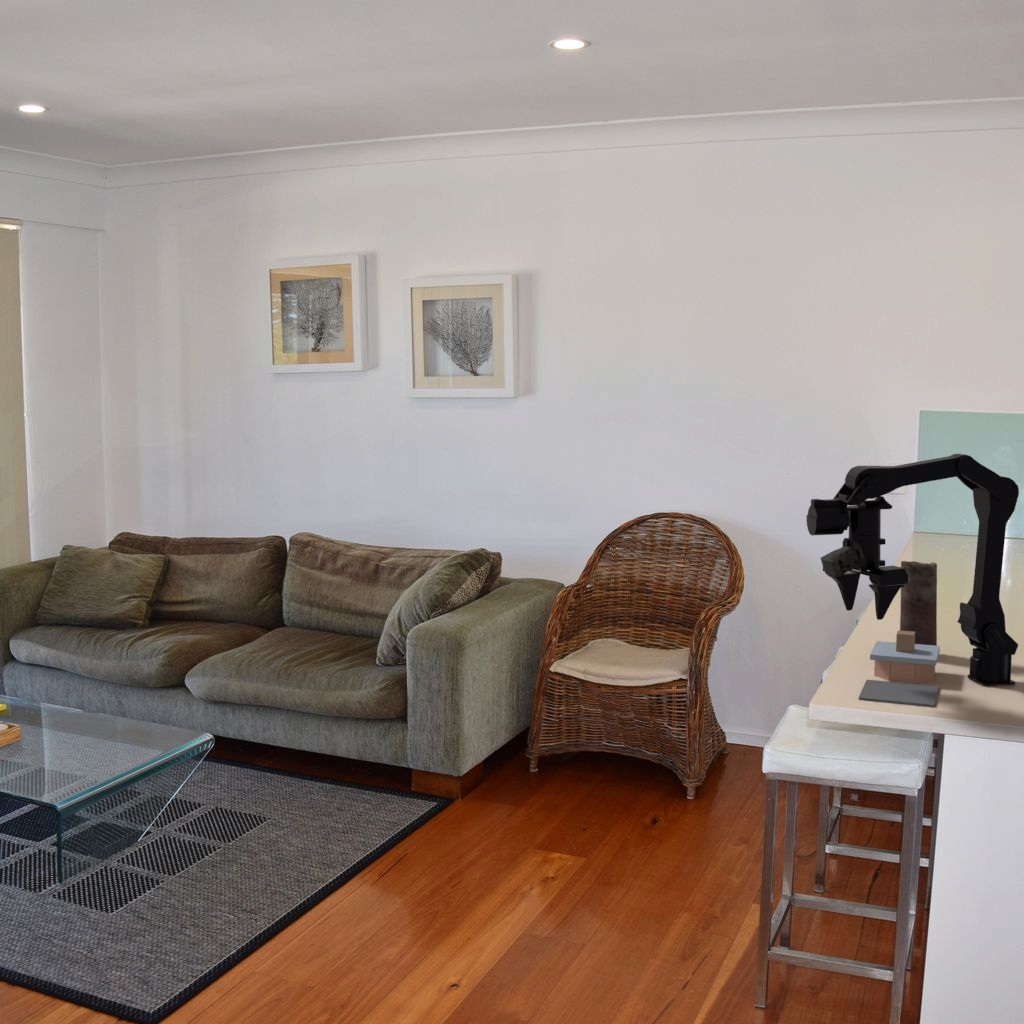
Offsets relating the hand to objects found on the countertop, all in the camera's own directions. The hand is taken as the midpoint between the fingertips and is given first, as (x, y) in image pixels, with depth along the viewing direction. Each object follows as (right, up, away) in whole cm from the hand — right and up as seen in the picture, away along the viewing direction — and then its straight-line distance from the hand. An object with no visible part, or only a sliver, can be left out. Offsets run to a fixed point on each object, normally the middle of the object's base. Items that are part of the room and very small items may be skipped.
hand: (864, 614), depth 211 cm
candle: (+19, -11, +24) cm, 33 cm away
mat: (+5, -14, -4) cm, 16 cm away
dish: (+11, -13, +8) cm, 19 cm away
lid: (+11, -9, +8) cm, 16 cm away
